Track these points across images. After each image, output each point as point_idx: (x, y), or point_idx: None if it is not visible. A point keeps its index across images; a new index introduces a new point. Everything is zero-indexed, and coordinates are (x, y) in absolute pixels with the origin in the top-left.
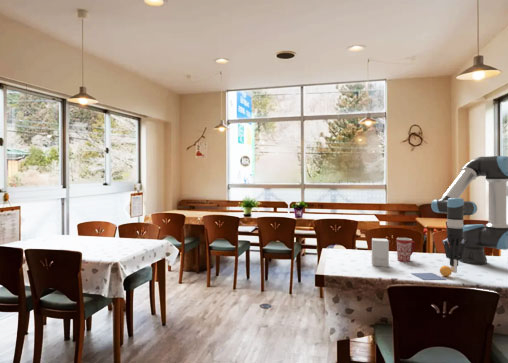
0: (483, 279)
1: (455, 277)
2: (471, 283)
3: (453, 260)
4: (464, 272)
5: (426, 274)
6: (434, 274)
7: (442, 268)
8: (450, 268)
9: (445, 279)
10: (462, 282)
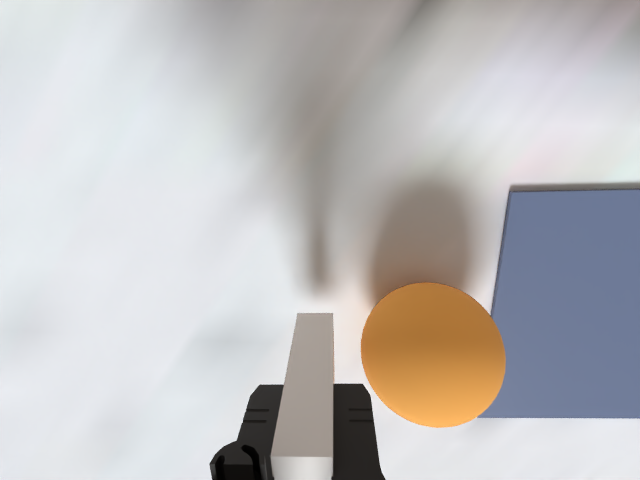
0: (53, 178)
1: (333, 268)
2: (305, 2)
3: (338, 468)
4: (126, 419)
5: (588, 371)
6: None
7: (502, 363)
8: (394, 346)
9: (520, 191)
10: (394, 57)
